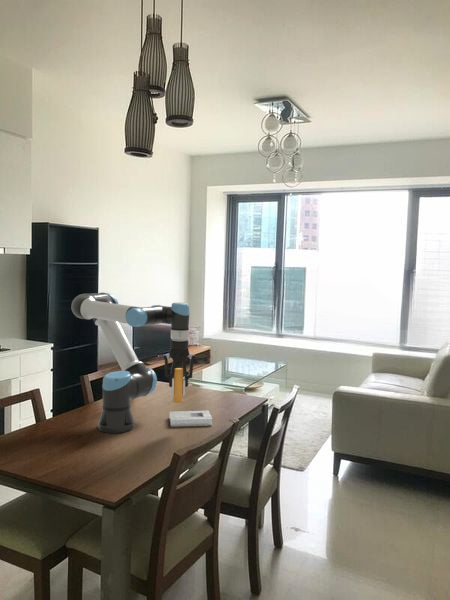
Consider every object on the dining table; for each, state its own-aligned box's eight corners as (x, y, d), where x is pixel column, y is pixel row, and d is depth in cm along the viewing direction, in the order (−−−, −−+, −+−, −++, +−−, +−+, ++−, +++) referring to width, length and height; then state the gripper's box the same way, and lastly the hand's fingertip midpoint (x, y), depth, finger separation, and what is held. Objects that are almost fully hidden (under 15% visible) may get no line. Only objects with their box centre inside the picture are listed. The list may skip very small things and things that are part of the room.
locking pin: (173, 403, 200) (174, 370, 199) (172, 400, 204) (173, 368, 203) (182, 403, 200) (183, 370, 199) (182, 400, 204) (183, 368, 203)
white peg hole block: (170, 426, 206) (170, 419, 206) (169, 417, 218) (169, 411, 218) (212, 425, 209) (212, 418, 209) (208, 416, 221) (208, 410, 221)
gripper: (159, 341, 195) (158, 397, 197) (200, 341, 198) (199, 396, 200) (158, 338, 202) (157, 392, 204) (198, 338, 205) (197, 391, 207)
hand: (178, 394), depth 202 cm, fingers closed on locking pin, 4 cm apart
